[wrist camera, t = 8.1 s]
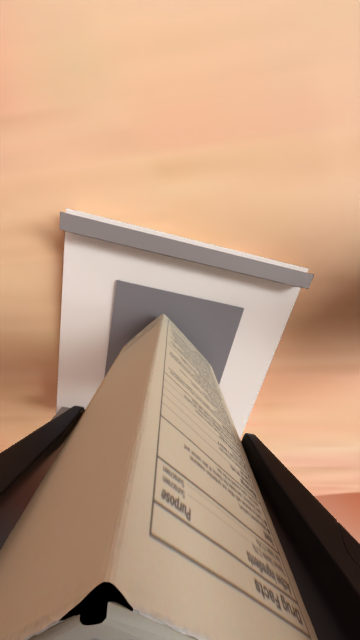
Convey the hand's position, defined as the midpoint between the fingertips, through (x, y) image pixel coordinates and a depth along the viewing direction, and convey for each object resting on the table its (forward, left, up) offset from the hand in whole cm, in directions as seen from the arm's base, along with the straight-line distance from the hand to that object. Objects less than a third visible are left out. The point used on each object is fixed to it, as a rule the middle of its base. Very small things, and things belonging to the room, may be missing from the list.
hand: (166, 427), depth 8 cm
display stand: (0, 0, -9) cm, 9 cm away
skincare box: (0, 0, -7) cm, 7 cm away
